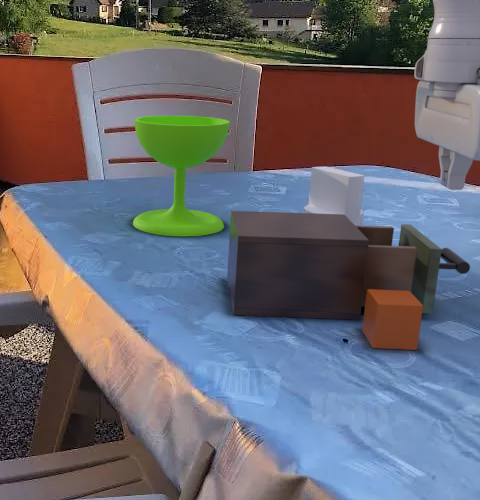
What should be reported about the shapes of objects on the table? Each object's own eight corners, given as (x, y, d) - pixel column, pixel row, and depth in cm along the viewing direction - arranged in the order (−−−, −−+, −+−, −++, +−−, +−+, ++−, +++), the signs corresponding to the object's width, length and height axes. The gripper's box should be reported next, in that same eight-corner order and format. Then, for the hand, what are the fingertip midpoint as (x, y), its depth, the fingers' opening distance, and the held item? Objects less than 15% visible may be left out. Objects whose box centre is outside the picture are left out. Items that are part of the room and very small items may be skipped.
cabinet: (337, 284, 94) (344, 214, 91) (360, 320, 82) (369, 240, 79) (226, 280, 95) (230, 210, 92) (233, 315, 83) (238, 235, 80)
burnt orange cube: (404, 333, 79) (409, 290, 77) (417, 350, 74) (423, 305, 73) (361, 331, 79) (366, 288, 77) (372, 348, 74) (377, 303, 73)
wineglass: (205, 241, 114) (211, 128, 108) (116, 228, 120) (117, 121, 115) (236, 220, 127) (242, 119, 122) (154, 210, 134) (157, 113, 129)
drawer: (438, 283, 93) (447, 225, 90) (472, 315, 82) (483, 250, 79) (299, 278, 94) (304, 220, 91) (314, 309, 83) (320, 244, 80)
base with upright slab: (372, 251, 110) (381, 174, 107) (326, 257, 106) (334, 178, 103) (332, 236, 118) (340, 165, 114) (289, 242, 114) (295, 168, 110)
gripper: (540, 69, 69) (519, 207, 73) (461, 63, 89) (448, 172, 93) (474, 69, 70) (456, 206, 74) (410, 63, 89) (398, 172, 93)
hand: (451, 187), depth 83 cm, fingers closed
